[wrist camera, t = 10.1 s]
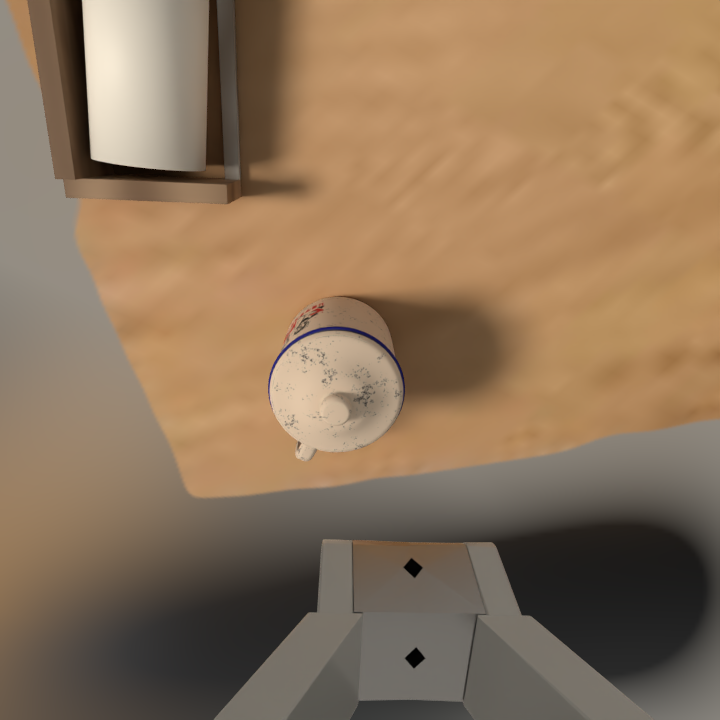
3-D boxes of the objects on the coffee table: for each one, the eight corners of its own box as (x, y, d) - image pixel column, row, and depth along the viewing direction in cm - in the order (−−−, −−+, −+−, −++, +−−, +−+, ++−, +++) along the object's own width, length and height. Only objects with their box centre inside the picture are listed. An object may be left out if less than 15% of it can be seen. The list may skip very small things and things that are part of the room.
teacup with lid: (305, 274, 42) (290, 321, 32) (413, 317, 44) (434, 376, 33) (255, 404, 46) (227, 485, 36) (355, 439, 48) (357, 527, 37)
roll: (211, -64, 29) (208, -33, 36) (65, -97, 27) (89, -58, 34) (206, 177, 34) (204, 167, 40) (81, 163, 32) (99, 156, 38)
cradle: (231, -80, 34) (208, -123, 28) (241, 196, 40) (224, 206, 34) (62, -90, 34) (6, -135, 28) (99, 190, 40) (58, 199, 34)
